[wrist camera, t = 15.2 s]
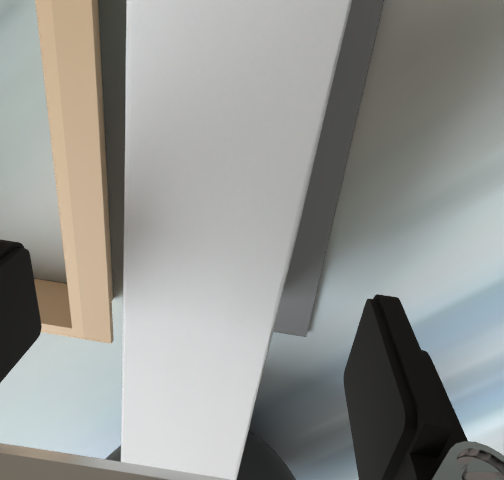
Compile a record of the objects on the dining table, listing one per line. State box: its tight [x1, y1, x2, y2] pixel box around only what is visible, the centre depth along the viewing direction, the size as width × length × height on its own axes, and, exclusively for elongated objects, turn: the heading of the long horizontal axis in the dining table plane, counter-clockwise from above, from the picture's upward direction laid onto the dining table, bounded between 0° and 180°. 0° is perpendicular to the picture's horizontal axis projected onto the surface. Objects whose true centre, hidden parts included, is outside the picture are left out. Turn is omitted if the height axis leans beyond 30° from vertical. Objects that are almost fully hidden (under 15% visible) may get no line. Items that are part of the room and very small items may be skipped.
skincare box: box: [121, 0, 352, 480], centre depth 19 cm, size 21×6×16 cm, turn 171°
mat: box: [273, 0, 384, 337], centre depth 26 cm, size 27×11×1 cm, turn 173°
